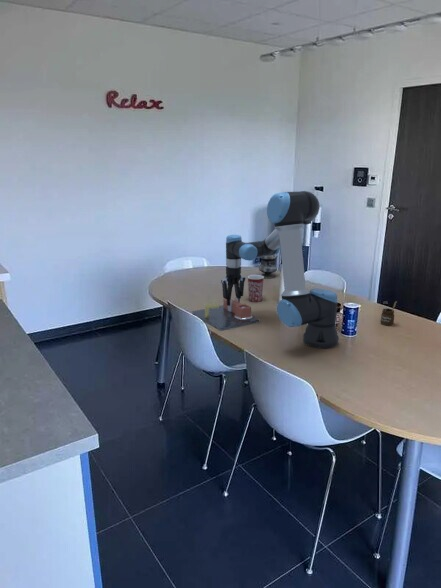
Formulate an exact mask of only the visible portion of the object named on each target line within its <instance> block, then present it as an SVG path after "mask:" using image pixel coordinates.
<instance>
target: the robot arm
mask: <svg viewBox="0 0 441 588" xmlns="http://www.w3.org/2000/svg"><path fill="white" fill-rule="evenodd" d="M320 207H321V206H320V201H319V199H318V197H317V196H316V195H315V194H314V193H313V192H310V191H306V190H303V191H302V190H301V191H283V192H277V193H274V194H273V195H271V197H270V198H269V200H268V202H267V206H266V216H267V218H268V220H269V222H271V223H272V224H274V225H273V226H274V229H273V231H272V232H271V233H270V234H268V236H267V237H266V238H264V239H263V240H260V241H259V240H258V241H250V242H244V241H242V240H243V239H242V236H241V235H239V234H229V235H227V236H226V240H225V265H226V266H225V274H226V276H225V278H224V279H221V280H220V281H221V282H220V283H221V284H222V285H221V286H222V298H223V299H227V305H228V311H229V312H232V300H234V301H237V302H239V303H241V302H240V301H241V300H240V299H242V297H244V290H245V289H244V288H245V281H246V277H245V276H242V275H241V274H242V267H241V266H242V260H244V261H253V260H255V259H256V258H260V257H263V256H272V255H276V254H277V255H278V254H279V252H280V258H281V268H282V277H283V287H284V291H282V293H281V295H280V296H281V299H280V300H279V301H278V302H277V304H276V314H277V316H278V319H279V320H280V321H281V322H282V324H283V325H285V326H286V327H289V328H293V327H295V328H296V327H301V326H303V325H306V328H305V330H304V333H303V335H302V342H303V343H304V344H305V345H306V346H309V347H312V348H315V349H331V348H336V347H337V346H338V345H339V338H340V337H339V336H338V331H337V328H336V327H337V325H336V322H337V313H338V312H337V310H338V294H337V293H336V292H334V291H332V290H330V289H329V290H328V289H325V288H310V290H308V289H307V286H306V278H305V268H304V267H305V266H304V264H305V263H304V257H303V246H302V245H303V244H302V233H301V228H302V227H303V226H306V225H309V224H310V223H311V222H312V221H313V220H314V219H316V217H317V216H318V215H319V211H320ZM233 288H234V293H235V296H234V297H233V298H234V299H232V292H233ZM231 299H232V300H231Z"/></svg>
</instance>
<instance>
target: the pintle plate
mask: <svg viewBox="0 0 441 588" xmlns="http://www.w3.org/2000/svg"><path fill="white" fill-rule="evenodd" d="M192 315H194V316H196V317H197V316H198V317H197V318H199V319H200V320H202V321H204V322H206V323H207V324H208V325H210V326H212V327H214V328H215V329H217V330H219V331H225V330H230V329H234V328H240V327H242V326H243V327H244V326H247V325H253V324H256V322H257V323H260V319H259V318H257V317H255V316H253V314H251V317H247V318H242V319H241V318H240V317H238V316H236V315H235V313H233V312H229V311H228V310H227V309H225V308H223V304H222V305H219V308H212V309H209V319H205V308H203V309H198V310H193V311H192Z"/></svg>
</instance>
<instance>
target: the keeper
mask: <svg viewBox="0 0 441 588" xmlns="http://www.w3.org/2000/svg"><path fill="white" fill-rule="evenodd" d="M203 305H204V309H205V319H209V309H212V308H219V306H220V305H219V302H217V301H216V302H204V303H203Z"/></svg>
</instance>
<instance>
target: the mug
mask: <svg viewBox="0 0 441 588" xmlns="http://www.w3.org/2000/svg"><path fill="white" fill-rule="evenodd" d="M261 275H262V274H250V275H248V276H247V286H248V300H249V301H250V302H253V303H259V302H262V300H263V292H264V291H263V289H264V279H265V278H264V276H261Z"/></svg>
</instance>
